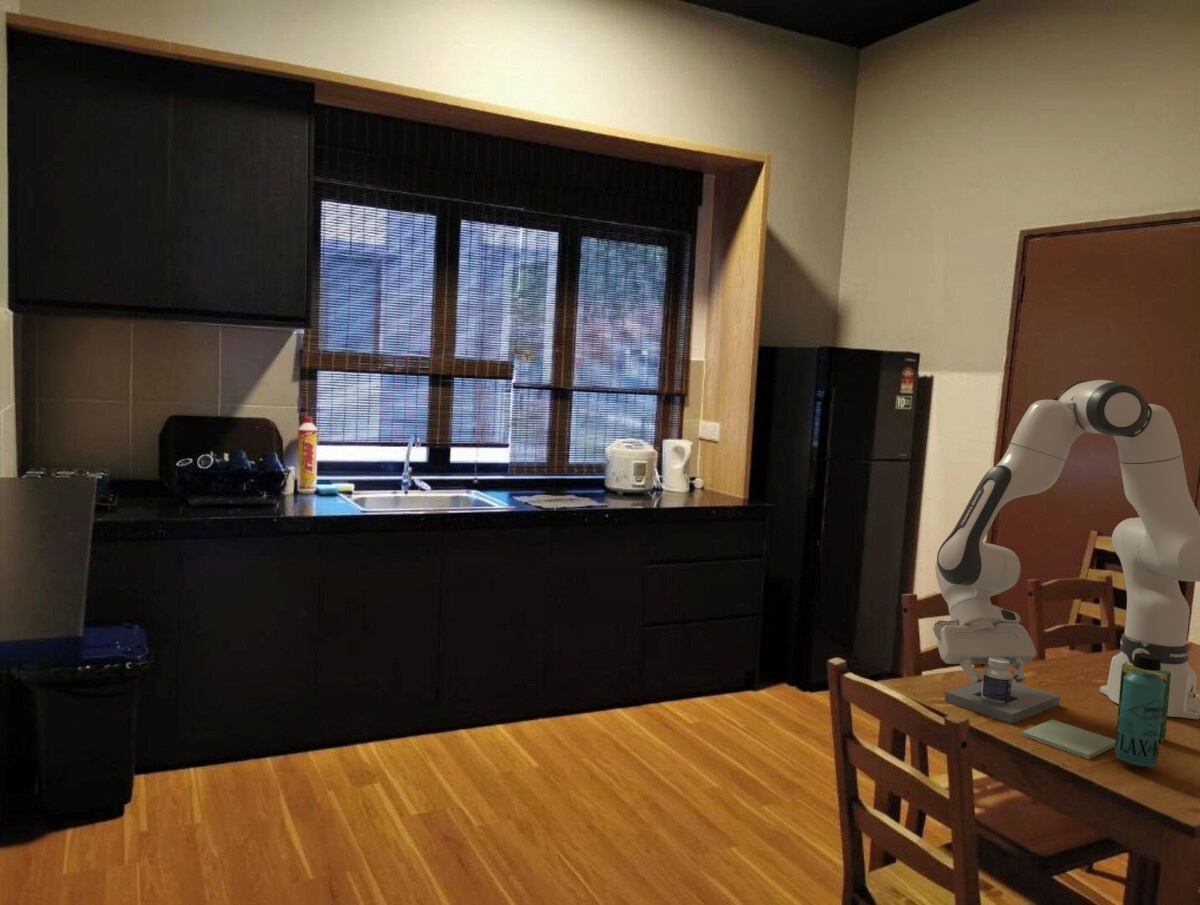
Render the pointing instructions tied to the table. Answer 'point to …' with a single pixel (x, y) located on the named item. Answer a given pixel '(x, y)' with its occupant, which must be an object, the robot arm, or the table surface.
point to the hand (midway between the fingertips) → (999, 681)
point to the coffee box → (1166, 678)
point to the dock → (1020, 706)
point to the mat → (1070, 738)
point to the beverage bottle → (1141, 713)
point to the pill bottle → (997, 680)
